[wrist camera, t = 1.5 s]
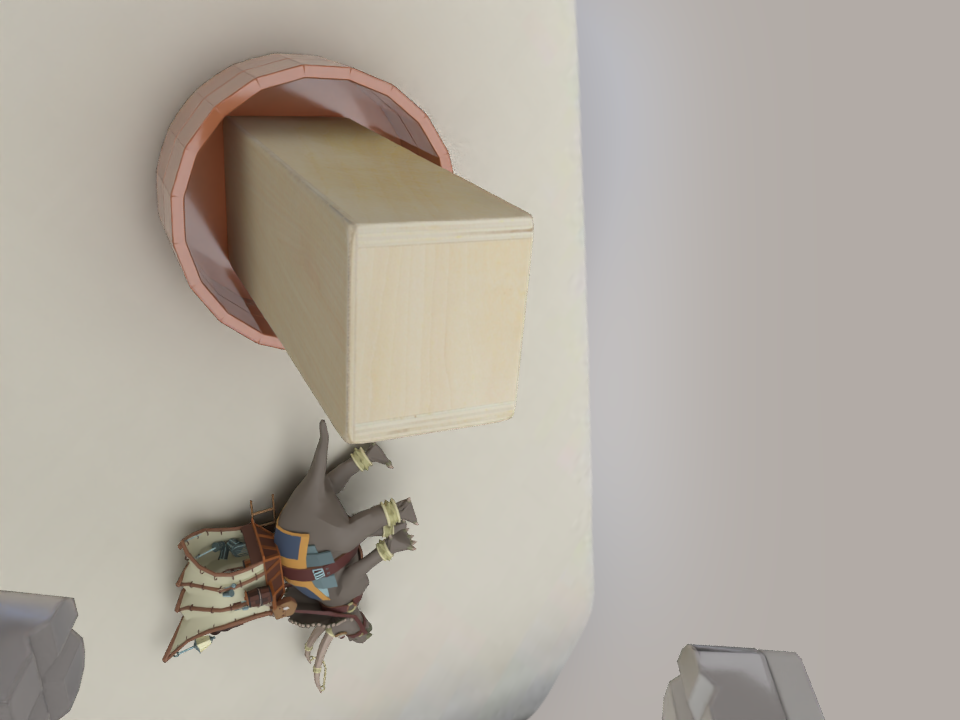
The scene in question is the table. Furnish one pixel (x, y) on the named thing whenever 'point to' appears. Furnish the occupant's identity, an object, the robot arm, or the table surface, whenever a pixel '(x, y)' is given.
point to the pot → (201, 170)
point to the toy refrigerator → (378, 274)
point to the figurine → (292, 562)
